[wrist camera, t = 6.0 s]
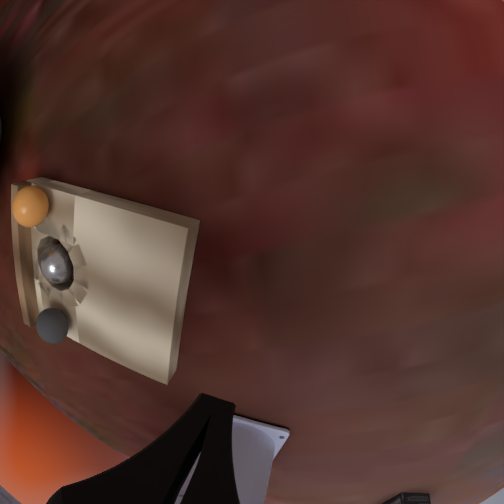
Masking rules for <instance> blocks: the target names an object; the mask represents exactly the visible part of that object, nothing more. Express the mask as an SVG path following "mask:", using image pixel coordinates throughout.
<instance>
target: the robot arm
mask: <svg viewBox="0 0 504 504" xmlns="http://www.w3.org/2000/svg"><path fill="white" fill-rule="evenodd" d="M235 407H236V406H235V404H234V403H231V402H228V401H225V400H222V399H219V398H216V397H213V396H210V395H207V394H204V393H201V394H199V396H198V397H197V399H196V400H195V401H194V402H193V404H192V405H191V406H190V407H189V409H188V410H187V411H186V412H185V413H184V414H183V415H182V416H181V417H180V418H179V419H178V420H177V421H176V422H175V423H174V424H173V425H172V426H171V427H170V428H169V429H168V430H167V431H166V432H164V433H163V434H162V435H161V436H160V437H158V438H157V439H156V440H155V441H153V442H152V443H151V444H150V445H148V446H147V447H145V448H144V449H143V450H141V451H140V452H138V453H137V454H135V455H134V456H132V457H130V458H129V459H127V460H125V461H124V462H122V463H120V464H118V465H116V466H115V467H113V468H111V469H109V470H107V471H104V472H102V473H100V474H97V475H95V476H93V477H90V478H88V479H85V480H82V481H79V482H76V483H73V484H70V485H66V486H63V487H61V488H60V489H59V490H58V491H56V492H55V493H54V494H53V495H52V497H50V499H49V500H48V502H47V503H46V504H264V502H265V497H266V492H267V487H268V483H269V478H270V473H271V467H272V462H273V459H274V458H275V456H276V455H277V453H278V452H279V450H280V449H281V447H282V446H283V444H284V443H285V441H286V440H287V438H288V436H289V433H290V431H289V430H288V429H284V428H280V427H276V426H272V425H268V424H264V423H261V422H257V421H253V420H250V419H246V418H243V417H240V416H236V415H234V410H235ZM0 504H21V503H20V502H19V501H17V500H16V499H15V498H14V497H13V496H12V495H10V494H9V493H8V492H7V491H6V490H5V489H4V488H3V487H1V486H0Z"/></svg>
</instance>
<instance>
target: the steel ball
mask: <svg viewBox="0 0 504 504" xmlns="http://www.w3.org/2000/svg"><path fill="white" fill-rule="evenodd" d="M40 270H41V272H42V274H43V276H44V277H45V278H46V279H47V280H48V281H50V282H52V283H57V284H58V283H64V282H66V281H67V280H69V279H70V278H71V276H72V275H73V273H74V268H73V264H72V261H71V259H70V256H69V253H68V251H67V250H66V248H65V247H64V246H63V245H62V244H60V243H55V244H51V245H49V246H48V247H46V248H45V249H44V251H43V252H42V254H41V257H40Z"/></svg>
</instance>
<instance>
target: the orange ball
mask: <svg viewBox="0 0 504 504" xmlns="http://www.w3.org/2000/svg"><path fill="white" fill-rule="evenodd" d="M48 209H49V202H48V198H47V195H46V194H45V192H44V191H43V190H42V189H41V188H39V187H37V186H32V185H31V186H26V187H24V188H22V189H21V190H19V191H18V193H17V194H16V195H15V197H14V200H13V204H12V212H13V215H14V218H15V219H16V221H17V222H18V223H19V224H20V225H22V226H24V227H35V226H37V225H39V224H40V223H41V222H42V221H43V220H44V219H45V217H46V215H47V213H48Z"/></svg>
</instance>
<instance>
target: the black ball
mask: <svg viewBox="0 0 504 504" xmlns="http://www.w3.org/2000/svg"><path fill="white" fill-rule="evenodd" d="M36 328H37V332H38V334H39V336H40V337H41V338H42V339H43V340H44V341H46V342H48V343H51V344H56V343H60V342H61V341H63V340H64V339H65V337H66V336H67V334H68V329H69V325H68V321H67V318H66V317H65V315H64V314H63V313H62V312H61V311H60V310H58V309H55V308H47V309H44V310H43V311H42V312H41V313H40V314H39V315H38V317H37V321H36Z"/></svg>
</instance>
